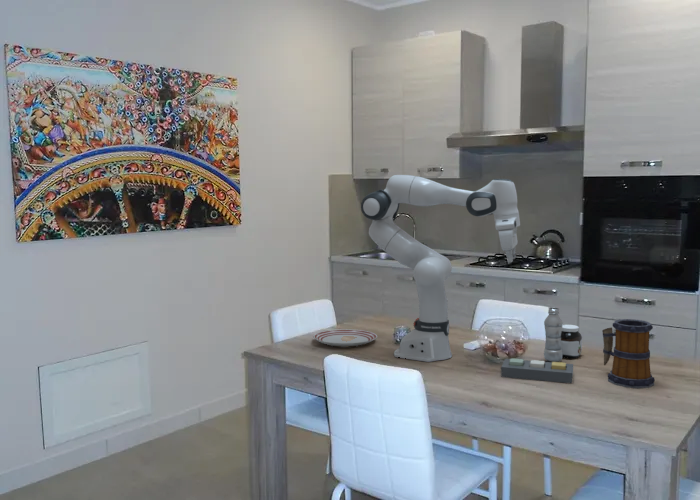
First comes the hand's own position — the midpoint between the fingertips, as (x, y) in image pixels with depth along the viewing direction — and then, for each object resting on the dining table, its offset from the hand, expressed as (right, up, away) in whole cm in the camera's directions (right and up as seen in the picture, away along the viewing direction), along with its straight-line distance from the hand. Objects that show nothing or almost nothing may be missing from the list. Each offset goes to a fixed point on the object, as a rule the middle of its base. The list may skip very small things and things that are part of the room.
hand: (511, 260), depth 228 cm
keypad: (+6, -40, -11) cm, 42 cm away
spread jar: (+24, -37, +14) cm, 47 cm away
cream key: (+6, -37, -11) cm, 39 cm away
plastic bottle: (+17, -38, +5) cm, 42 cm away
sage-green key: (-1, -37, -9) cm, 38 cm away
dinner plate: (-61, -36, +40) cm, 81 cm away
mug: (+34, -40, -17) cm, 55 cm away
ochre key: (+12, -37, -14) cm, 42 cm away
